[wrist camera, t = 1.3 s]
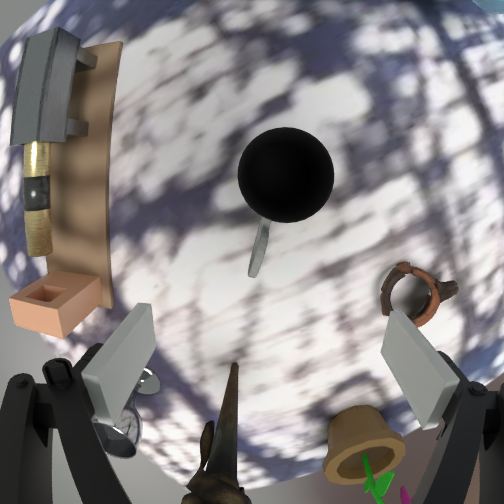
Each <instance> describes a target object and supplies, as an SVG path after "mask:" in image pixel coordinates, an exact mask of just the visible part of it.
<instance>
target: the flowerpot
mask: <svg viewBox="0 0 504 504" xmlns="http://www.w3.org/2000/svg"><path fill="white" fill-rule="evenodd" d="M405 454H406V450H405V444H404V441H403V439H402V436H401V434H399V433H396V432H394V431H392V430H390V428H389V427H388V425H387V424H386V422H385V420H384V419H383V417H382V416H381V414H380V413H379V411H378V410H377V409H375V408H373V407H371V406H369V405H365V406H354V407H351V408H349V409H346V410H344V411H341V412H340V413H339V414H338V415H337V416H335V417H334V418H333V419H332V420H331V422H330V425H329V427H328V453H327V455H326V457H325V460H324V462H323V470H324V474H325V475H326V477H327V478H328V480H329V481H330V482H334V483H338V484H342V485H350V484H359V483H364V489H365V493H366V492H368V491H369V489H371V492H372V493H373V495H374V497H375V499H376V501H377V503H378V504H385V503H384V501H383V500H382V498H381V496H383V495H384V494H385V493H386V491H387V489H388V486H389V485H390V482H391V480H392V478H393V476H394V471H392V472H389V471H390V470H391V469H393V468H394V467H396V466H397V465H398V464H399V462H400V461H401V460H402V458H403V457H404V455H405ZM387 472H388V473H387ZM378 477H379V478H378ZM375 478H378V479H377V482H376V485H375V482H374V479H375ZM400 491H401V492H400V498H401V502H402V504H409V503H410V501H411V500H412V498H413V496H414V495H413V496H412V497H411V498H410V500H409V497H408V493H407V491H406V489H405V488H404V486H402V487H401V490H400Z"/></svg>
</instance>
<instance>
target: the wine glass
mask: <svg viewBox="0 0 504 504" xmlns="http://www.w3.org/2000/svg"><path fill="white" fill-rule="evenodd" d="M160 385H161V384H160V380H159V378H158V376H157V375H156V374H155V373H154V372H153V371H152V370H151V369H149V368H147V367H146V366H145V368H144V370H143V372H142V374H141V376H140V377H139V379H138V381H137V383H136V385H135V387H134V389H133V391H132V393H131V394H130V396H129V398H128V400H127V402H126V404H125V406H124V408H123V410H122V412H121V413H120V415H119V417H118V419H117V421H116V423H115V425H114V426H112V425H108V424H104V423H100V422H98V419H97V417H96V414H94V415H93V417H92V419H91V420H92V422H93V425H94V427H95V430H96V432H97V434H98V437H99V439H100V441H101V444H102V446H103V448H104V450H105V452H106V454H108V455H110V456H113V457H116V458H120V459H129V458H132V457H134V456H135V455H136V453H137V450H138V448H139V445H140V442H141V437H142V430H143V424H142V419H141V417H140V415H139V413H138V411H137V410H136V408H135V405H134V401H135V398H136V395H137V393H138V394H141V395H146V396H149V395H154V394H156V393H157V392H158V391H159V390H160Z"/></svg>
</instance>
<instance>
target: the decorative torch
mask: <svg viewBox="0 0 504 504" xmlns="http://www.w3.org/2000/svg"><path fill="white" fill-rule="evenodd" d="M238 369H239V366H238V365H237V364H236V363H233V364H232V366H231V371H230V375H229V379H228V383H227V387H226V391H225V395H224V399H223V403H222V407H221V411H220V415H219V419H218V423H217V427H216V431H215V435H214V421H212V420H211V421H209V422H207V423H206V425H205V428H204V430H203V433H202V436H201V439H200V453H201V463H200V467H199V470H198V471H197V472H196V474H195V475H194V476H193V478H192V479H191V480H190V482H189V483H188V485H187V486H186V487H187V488H188V489H189V490H190V491H191V493H189V494H186V495H185V496H184V497H183V499H182V502H181V504H252V503H251V500H250V498H249V497H248V496H247V495H245V493H244V487H239V484H238V481H237V423H238ZM207 461H208V463H207ZM206 463H207V467H206V471H204V470H203V469H204V467H205V465H206Z"/></svg>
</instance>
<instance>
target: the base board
mask: <svg viewBox="0 0 504 504" xmlns="http://www.w3.org/2000/svg"><path fill="white" fill-rule="evenodd" d="M122 46H123V43H122V42H121V41H118V42H112V43H107V44H101V45H96V46H92V47H87V48H84V49H85V50H87V51H89V52H91V53H92V54H94V55H96V56H98V59H97V65H96V69H94V70H88V71H83V72H78V73H74V77H73V84H72V90H71V98H70V106H69V115H68V119H74V120H79V121H85V122H89V128H88V136H86V137H76V138H66V142H62V143H53V144H51V160H50V194H51V208H50V209H51V229H52V242H53V252H52V253H51V254H49V255H46V262H47V270H48V273H50V272H52V271H53V270H57V271H63V272H71V273H78V274H85V275H93V276H100V282H101V292H102V300H103V301H102V302H101V303H100V304H99V305H98V307H104V308H111V309H112V308H113V307H114V297H113V286H112V275H111V260H110V241H109V162H110V143H111V129H112V118H113V108H114V99H115V91H116V83H117V76H118V69H119V63H120V57H121V51H122Z"/></svg>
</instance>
